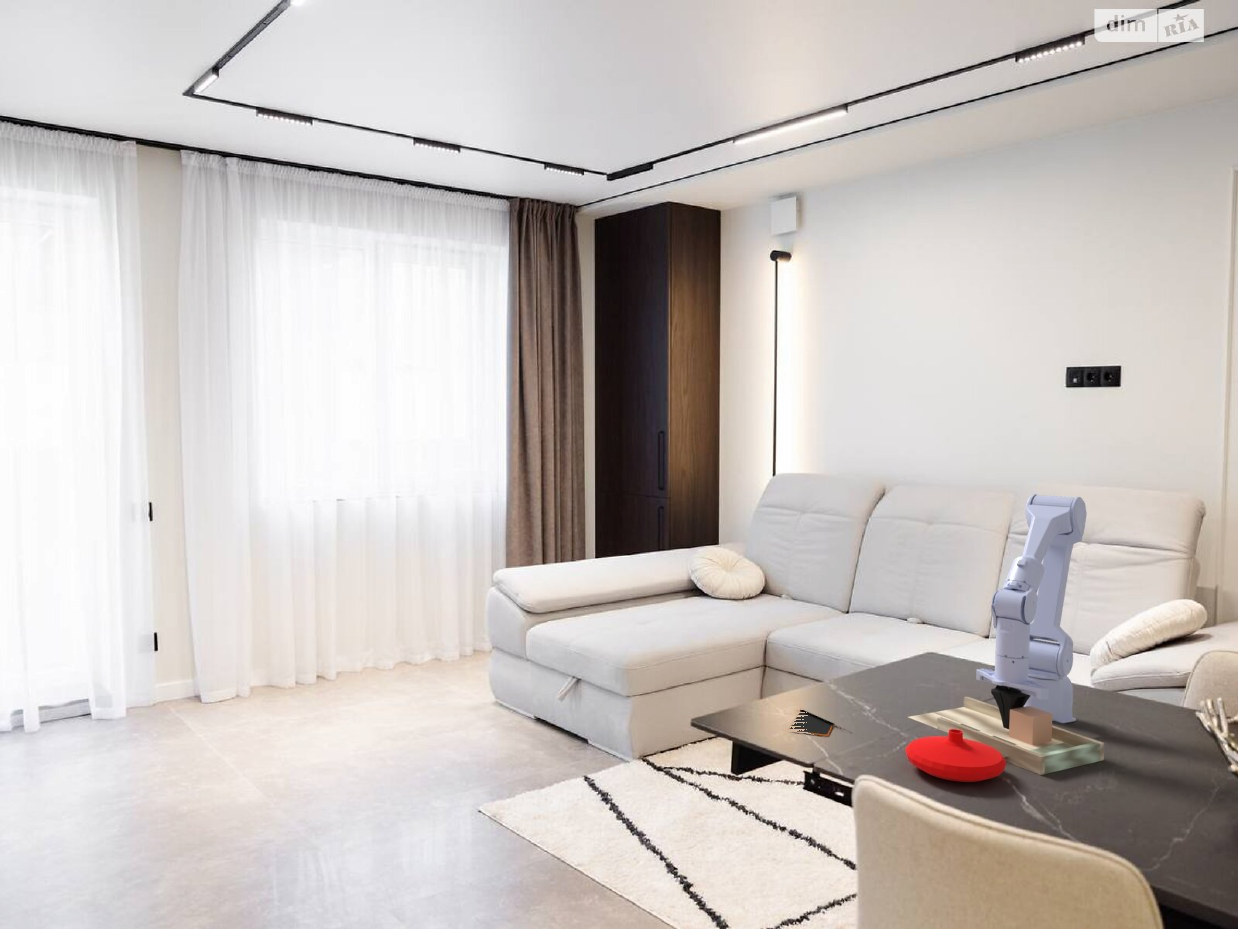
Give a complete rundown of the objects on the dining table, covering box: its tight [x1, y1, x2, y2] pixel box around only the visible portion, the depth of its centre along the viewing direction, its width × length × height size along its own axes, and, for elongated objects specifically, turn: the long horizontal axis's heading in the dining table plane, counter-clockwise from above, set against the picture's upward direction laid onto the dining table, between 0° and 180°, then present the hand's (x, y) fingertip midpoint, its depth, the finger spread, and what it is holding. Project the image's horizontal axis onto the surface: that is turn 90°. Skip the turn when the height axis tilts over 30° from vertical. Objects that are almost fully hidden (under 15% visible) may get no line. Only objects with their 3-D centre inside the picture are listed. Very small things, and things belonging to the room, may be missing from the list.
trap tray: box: [907, 696, 1105, 776], centre depth 172 cm, size 16×30×3 cm, turn 27°
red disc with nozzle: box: [904, 729, 1007, 783], centre depth 155 cm, size 16×16×7 cm
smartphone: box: [788, 709, 835, 738], centre depth 181 cm, size 8×17×1 cm, turn 159°
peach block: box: [1009, 706, 1053, 745], centre depth 169 cm, size 5×5×5 cm
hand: (1009, 727), depth 173 cm, fingers closed
